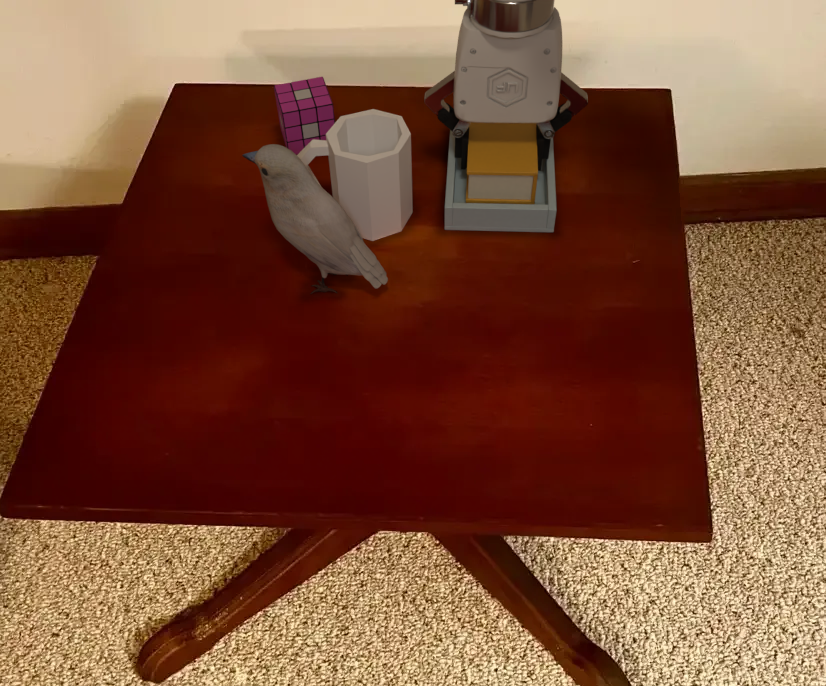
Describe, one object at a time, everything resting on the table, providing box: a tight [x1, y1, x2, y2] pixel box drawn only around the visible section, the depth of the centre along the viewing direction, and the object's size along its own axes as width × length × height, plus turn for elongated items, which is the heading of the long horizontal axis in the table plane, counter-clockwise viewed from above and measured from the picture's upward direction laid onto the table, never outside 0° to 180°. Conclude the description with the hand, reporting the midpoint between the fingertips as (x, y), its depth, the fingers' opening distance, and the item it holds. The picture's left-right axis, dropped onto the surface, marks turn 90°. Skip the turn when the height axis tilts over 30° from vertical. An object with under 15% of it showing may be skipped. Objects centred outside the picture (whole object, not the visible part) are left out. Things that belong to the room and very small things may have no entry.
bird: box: [241, 143, 389, 295], centre depth 81 cm, size 5×14×15 cm, turn 67°
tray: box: [443, 123, 558, 233], centre depth 93 cm, size 11×17×3 cm
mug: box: [297, 108, 414, 242], centre depth 88 cm, size 12×9×10 cm
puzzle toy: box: [273, 76, 336, 155], centre depth 99 cm, size 6×6×6 cm
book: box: [466, 123, 538, 204], centre depth 92 cm, size 12×7×4 cm, turn 174°
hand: (500, 161), depth 93 cm, fingers closed on book, 7 cm apart
